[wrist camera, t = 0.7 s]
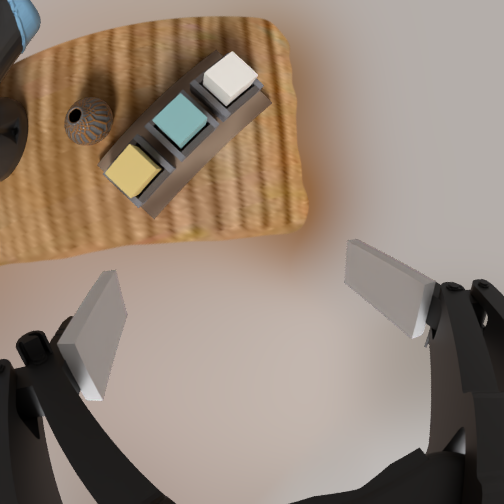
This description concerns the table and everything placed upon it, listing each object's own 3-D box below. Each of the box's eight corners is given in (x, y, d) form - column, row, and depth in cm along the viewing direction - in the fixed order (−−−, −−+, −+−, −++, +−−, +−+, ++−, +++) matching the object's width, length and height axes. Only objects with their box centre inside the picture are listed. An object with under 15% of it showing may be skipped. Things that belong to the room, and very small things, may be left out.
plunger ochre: (116, 172, 32) (104, 173, 27) (138, 147, 32) (129, 143, 27) (139, 194, 33) (130, 198, 29) (161, 169, 33) (156, 169, 28)
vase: (111, 95, 32) (92, 79, 24) (123, 134, 35) (105, 125, 26) (72, 116, 32) (47, 107, 24) (84, 154, 34) (59, 152, 26)
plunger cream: (202, 84, 31) (204, 72, 26) (227, 65, 30) (232, 51, 26) (226, 106, 32) (230, 97, 28) (250, 86, 32) (258, 75, 27)
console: (100, 165, 35) (87, 165, 30) (215, 53, 33) (218, 38, 28) (155, 217, 39) (149, 224, 34) (269, 105, 38) (280, 96, 32)
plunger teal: (157, 126, 31) (152, 120, 27) (182, 102, 31) (180, 93, 26) (181, 148, 33) (178, 145, 28) (205, 124, 33) (207, 117, 28)
